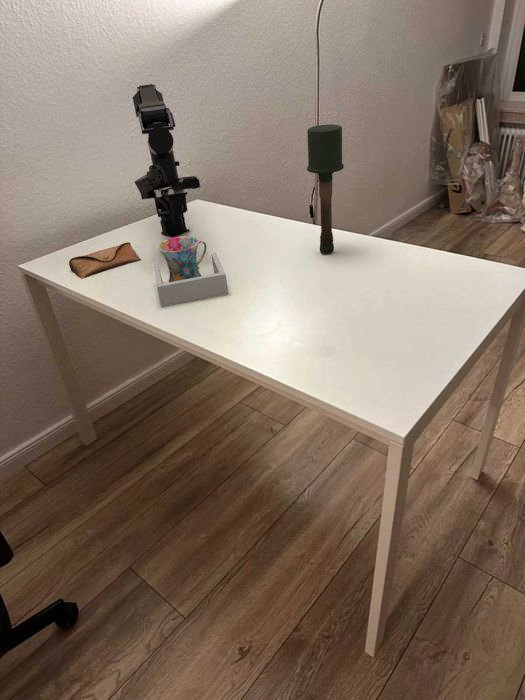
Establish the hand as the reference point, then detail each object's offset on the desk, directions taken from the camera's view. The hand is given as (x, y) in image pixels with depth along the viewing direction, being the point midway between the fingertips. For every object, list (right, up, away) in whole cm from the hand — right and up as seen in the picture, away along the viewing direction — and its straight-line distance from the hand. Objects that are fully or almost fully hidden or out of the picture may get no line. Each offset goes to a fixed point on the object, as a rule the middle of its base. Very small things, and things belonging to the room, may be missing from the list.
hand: (176, 223), depth 126 cm
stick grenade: (+39, -8, 0) cm, 40 cm away
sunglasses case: (-20, -10, +7) cm, 24 cm away
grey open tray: (+5, -18, -10) cm, 21 cm away
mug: (+5, -17, -8) cm, 19 cm away
